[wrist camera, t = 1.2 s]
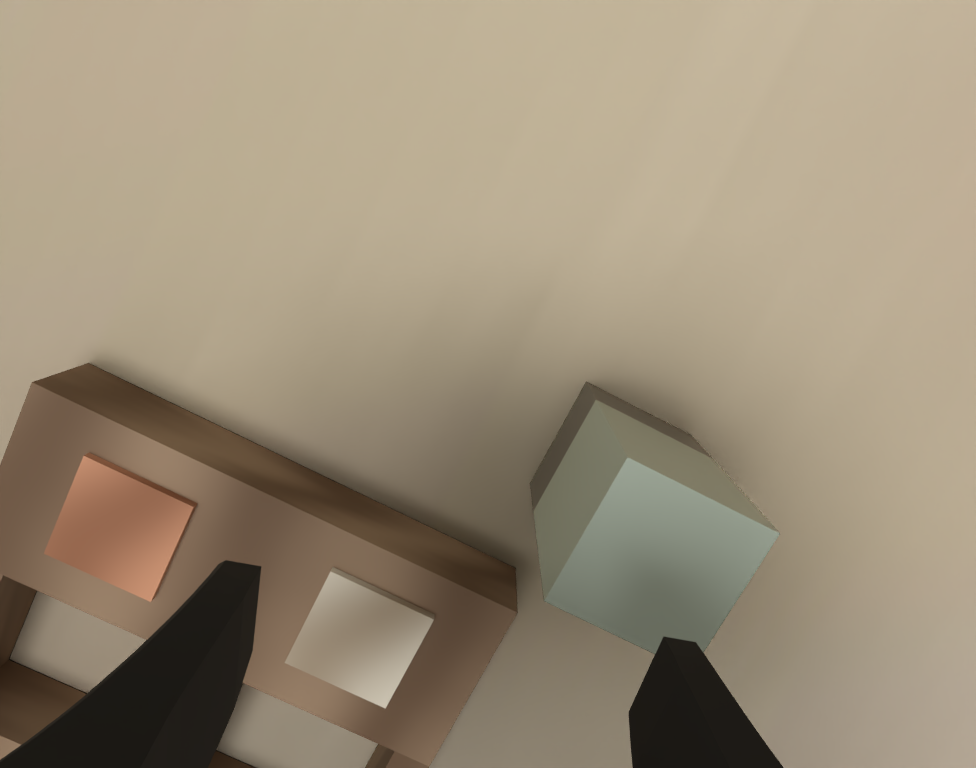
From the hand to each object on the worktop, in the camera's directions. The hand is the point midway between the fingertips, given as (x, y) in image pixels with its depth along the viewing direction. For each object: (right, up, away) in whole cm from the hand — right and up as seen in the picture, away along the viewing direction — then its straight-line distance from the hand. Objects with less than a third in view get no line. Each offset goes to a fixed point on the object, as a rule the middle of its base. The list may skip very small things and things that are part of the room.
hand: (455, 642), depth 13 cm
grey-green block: (+5, +2, +12) cm, 13 cm away
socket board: (-9, -4, +13) cm, 17 cm away
